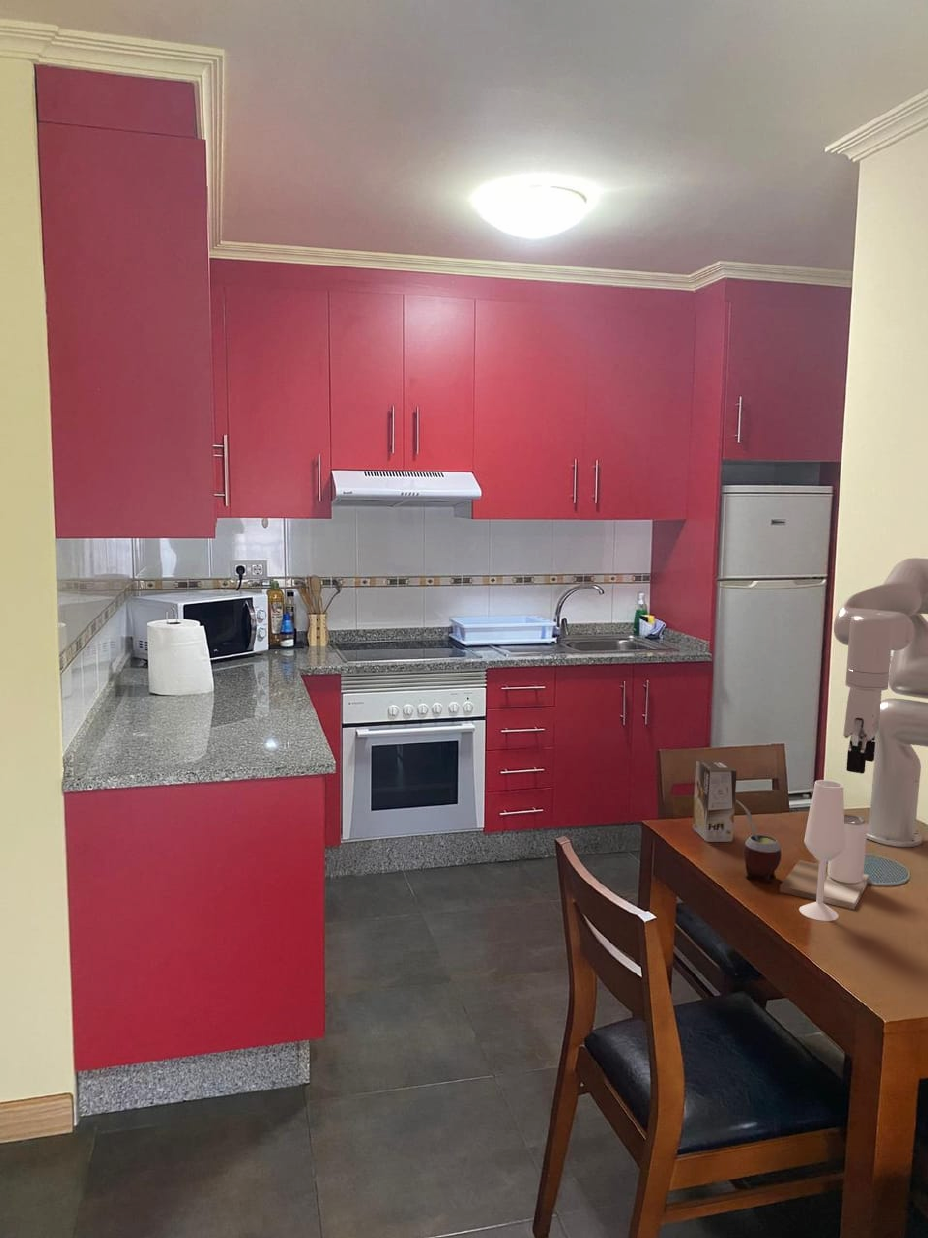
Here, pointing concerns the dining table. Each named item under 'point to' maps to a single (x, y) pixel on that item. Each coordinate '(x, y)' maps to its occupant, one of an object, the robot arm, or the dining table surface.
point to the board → (836, 893)
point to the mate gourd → (761, 854)
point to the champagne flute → (824, 839)
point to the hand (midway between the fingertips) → (860, 766)
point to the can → (850, 853)
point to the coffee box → (714, 800)
